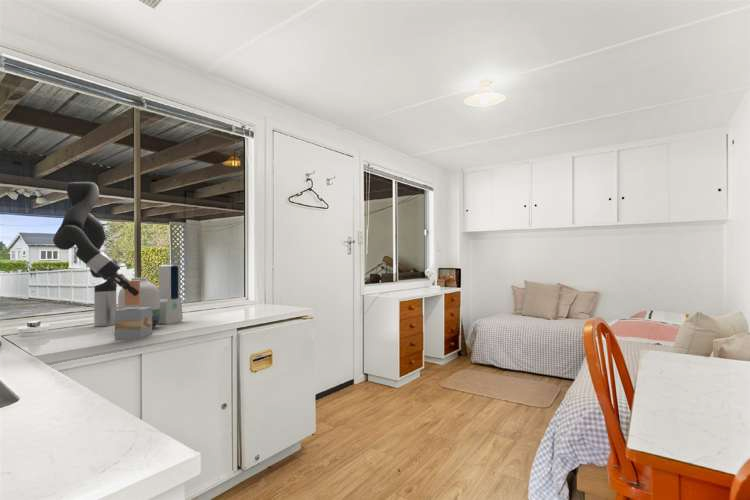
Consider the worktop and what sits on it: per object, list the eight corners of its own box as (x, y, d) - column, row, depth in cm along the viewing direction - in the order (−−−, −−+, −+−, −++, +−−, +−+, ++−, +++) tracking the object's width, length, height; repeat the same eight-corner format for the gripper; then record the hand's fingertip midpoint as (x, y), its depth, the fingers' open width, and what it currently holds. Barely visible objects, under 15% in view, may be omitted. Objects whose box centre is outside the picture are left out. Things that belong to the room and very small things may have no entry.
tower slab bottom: (127, 335, 167) (127, 326, 167) (152, 334, 168) (151, 325, 168) (114, 340, 157) (114, 330, 157) (140, 339, 158) (140, 329, 158)
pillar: (126, 304, 163) (126, 280, 164) (139, 303, 166) (140, 280, 166) (124, 305, 159) (124, 281, 159) (139, 304, 161) (139, 280, 162)
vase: (124, 327, 188) (124, 277, 189) (163, 324, 193) (163, 276, 194) (112, 333, 172) (112, 279, 173) (155, 330, 177) (155, 277, 178)
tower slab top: (128, 316, 167) (128, 307, 167) (152, 316, 168) (152, 306, 168) (115, 320, 157) (115, 310, 157) (141, 319, 158) (141, 309, 159)
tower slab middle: (128, 326, 167) (128, 316, 167) (152, 325, 168) (152, 316, 168) (114, 330, 157) (114, 320, 157) (140, 329, 158) (140, 319, 158)
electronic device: (166, 324, 193) (165, 264, 194) (153, 324, 194) (152, 265, 195) (183, 321, 205) (182, 264, 206) (170, 320, 206) (170, 264, 207)
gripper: (108, 259, 153) (144, 288, 158) (113, 259, 166) (146, 286, 171) (92, 273, 151) (128, 302, 156) (98, 272, 163) (132, 299, 168)
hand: (137, 293), depth 163 cm, fingers closed on pillar, 5 cm apart
